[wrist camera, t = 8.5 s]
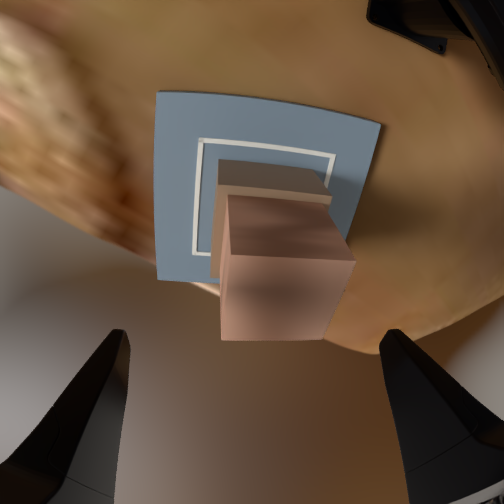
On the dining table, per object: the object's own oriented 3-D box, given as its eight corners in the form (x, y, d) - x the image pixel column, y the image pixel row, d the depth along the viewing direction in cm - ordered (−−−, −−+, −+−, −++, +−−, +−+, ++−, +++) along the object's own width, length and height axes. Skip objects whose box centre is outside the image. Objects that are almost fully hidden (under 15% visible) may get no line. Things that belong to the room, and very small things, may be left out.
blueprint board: (374, 120, 18) (413, 142, 14) (324, 279, 26) (341, 322, 22) (160, 90, 15) (139, 100, 11) (159, 271, 24) (150, 318, 20)
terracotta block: (322, 203, 16) (356, 261, 12) (301, 275, 18) (321, 339, 14) (227, 194, 15) (230, 254, 11) (219, 271, 18) (221, 340, 14)
